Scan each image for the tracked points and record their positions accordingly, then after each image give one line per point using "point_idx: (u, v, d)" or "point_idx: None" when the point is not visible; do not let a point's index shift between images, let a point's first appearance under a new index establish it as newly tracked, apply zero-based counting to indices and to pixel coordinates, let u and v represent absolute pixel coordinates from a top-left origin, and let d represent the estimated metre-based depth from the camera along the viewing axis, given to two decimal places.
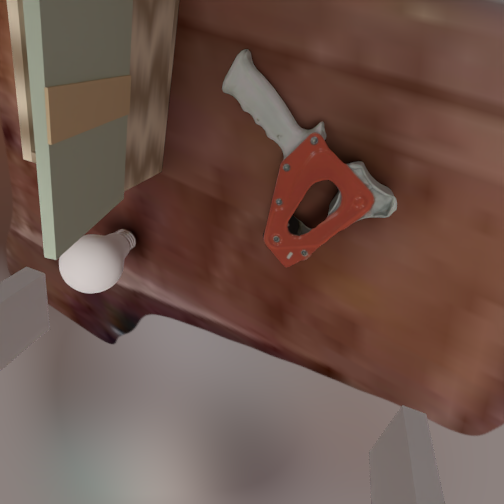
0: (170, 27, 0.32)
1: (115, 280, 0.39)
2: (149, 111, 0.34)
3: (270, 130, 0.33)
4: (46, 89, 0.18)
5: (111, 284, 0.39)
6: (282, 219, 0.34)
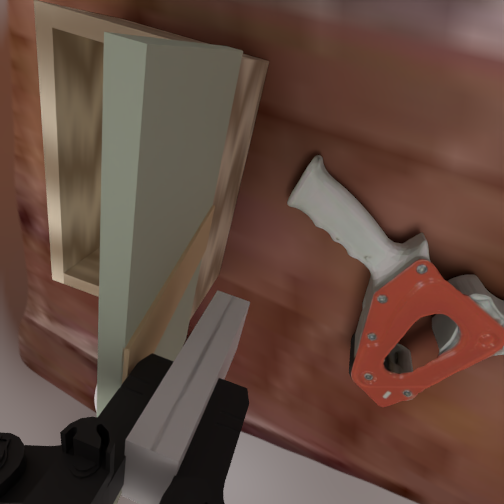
0: (252, 118, 0.24)
1: None
2: (220, 224, 0.26)
3: (355, 251, 0.26)
4: (126, 350, 0.10)
5: None
6: (377, 356, 0.27)
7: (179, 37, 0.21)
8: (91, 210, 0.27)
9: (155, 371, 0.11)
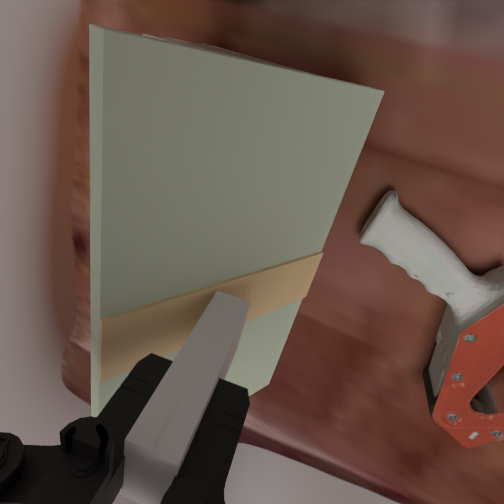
0: None
1: None
2: None
3: (436, 287, 0.24)
4: (101, 321, 0.11)
5: None
6: (463, 396, 0.25)
7: None
8: None
9: (154, 371, 0.11)
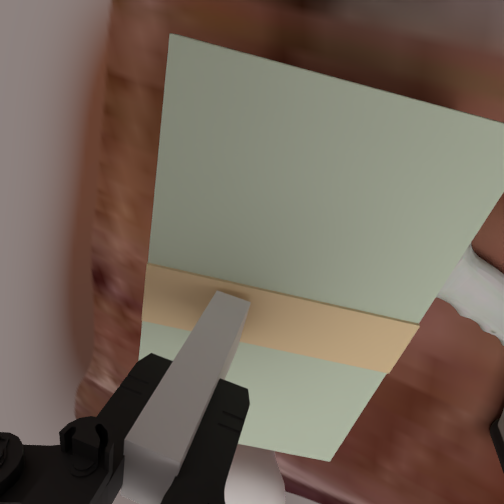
0: None
1: None
2: None
3: None
4: (147, 265, 0.14)
5: None
6: None
7: None
8: None
9: (154, 371, 0.11)
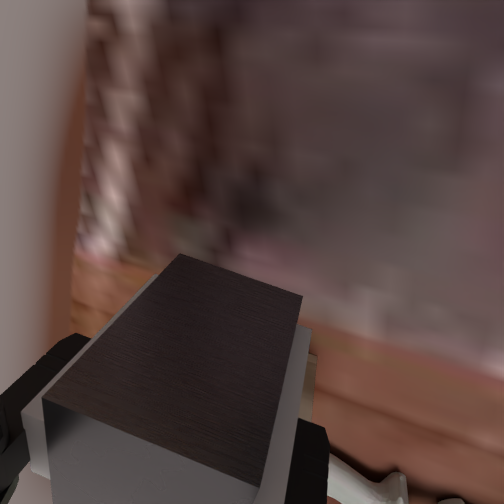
0: None
1: None
2: None
3: (343, 503, 0.29)
4: None
5: None
6: None
7: None
8: None
9: (75, 350, 0.11)
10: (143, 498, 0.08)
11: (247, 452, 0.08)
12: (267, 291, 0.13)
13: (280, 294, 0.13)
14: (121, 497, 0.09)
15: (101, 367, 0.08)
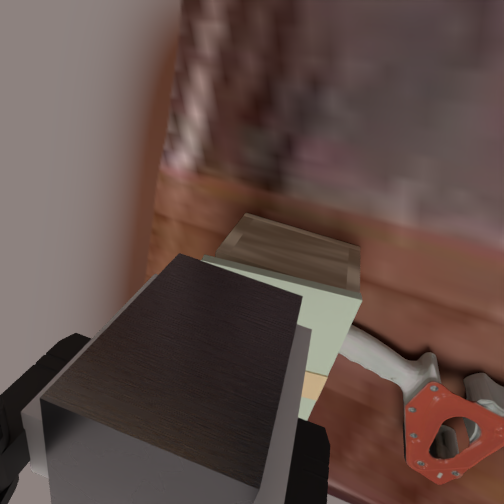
0: None
1: None
2: None
3: (382, 375, 0.34)
4: None
5: None
6: (422, 449, 0.35)
7: (300, 246, 0.30)
8: None
9: (75, 350, 0.11)
10: (142, 499, 0.08)
11: (247, 453, 0.07)
12: (267, 291, 0.13)
13: (280, 294, 0.13)
14: (120, 498, 0.09)
15: (100, 367, 0.08)
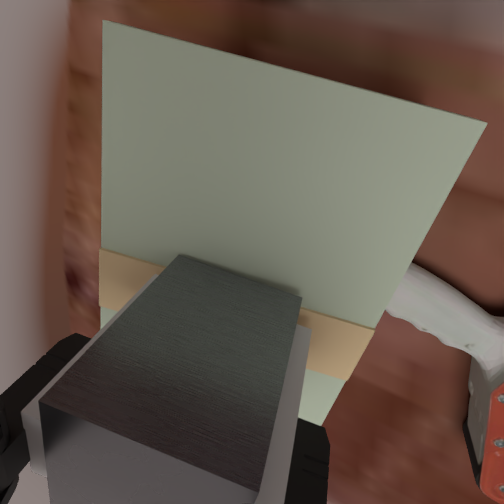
0: None
1: None
2: None
3: (451, 340, 0.20)
4: (100, 250, 0.14)
5: None
6: None
7: None
8: None
9: (75, 350, 0.11)
10: (141, 502, 0.08)
11: (247, 456, 0.07)
12: (266, 292, 0.13)
13: (280, 296, 0.13)
14: (119, 501, 0.09)
15: (99, 370, 0.08)
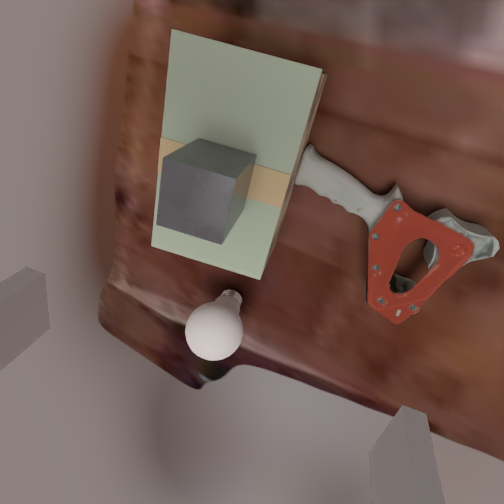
0: (314, 116, 0.33)
1: (237, 347, 0.40)
2: (289, 194, 0.35)
3: (349, 206, 0.35)
4: (161, 138, 0.29)
5: (234, 351, 0.40)
6: (383, 282, 0.36)
7: None
8: None
9: None
10: (195, 201, 0.24)
11: (232, 174, 0.23)
12: (240, 151, 0.28)
13: (246, 153, 0.28)
14: (187, 204, 0.24)
15: (178, 155, 0.24)
